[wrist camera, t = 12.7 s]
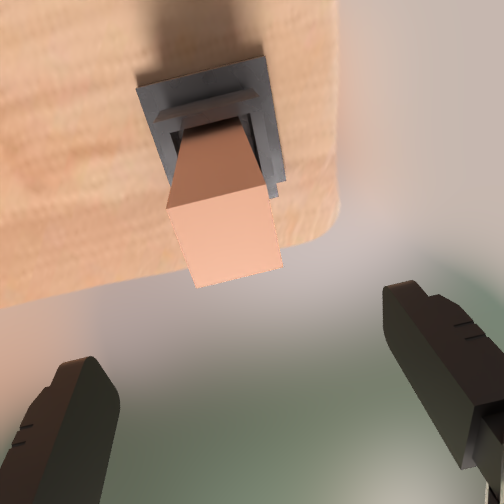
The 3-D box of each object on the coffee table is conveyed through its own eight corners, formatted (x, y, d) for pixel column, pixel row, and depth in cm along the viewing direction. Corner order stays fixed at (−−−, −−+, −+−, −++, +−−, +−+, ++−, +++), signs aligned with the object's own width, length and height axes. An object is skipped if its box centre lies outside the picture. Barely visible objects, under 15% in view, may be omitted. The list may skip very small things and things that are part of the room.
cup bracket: (137, 87, 28) (107, 109, 19) (263, 55, 27) (289, 64, 19) (178, 202, 33) (169, 261, 24) (284, 176, 33) (311, 226, 24)
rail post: (184, 128, 26) (166, 209, 14) (237, 115, 26) (266, 184, 14) (200, 180, 28) (196, 288, 16) (249, 168, 28) (283, 267, 16)
